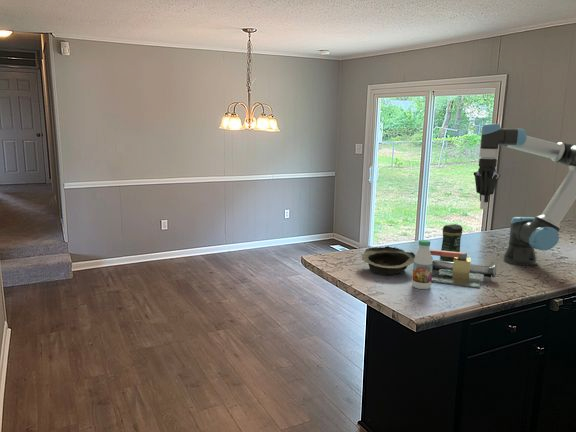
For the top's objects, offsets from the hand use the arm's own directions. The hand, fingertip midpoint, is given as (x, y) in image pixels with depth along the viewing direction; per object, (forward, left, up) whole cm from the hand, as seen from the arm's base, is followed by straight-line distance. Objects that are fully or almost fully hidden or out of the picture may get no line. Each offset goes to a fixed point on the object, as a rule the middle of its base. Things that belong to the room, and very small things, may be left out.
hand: (483, 208), depth 218 cm
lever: (+13, +16, -21) cm, 29 cm away
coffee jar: (+13, -11, -30) cm, 34 cm away
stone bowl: (+39, +21, -30) cm, 53 cm away
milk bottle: (+22, +37, -30) cm, 52 cm away
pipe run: (+9, +18, -29) cm, 36 cm away
